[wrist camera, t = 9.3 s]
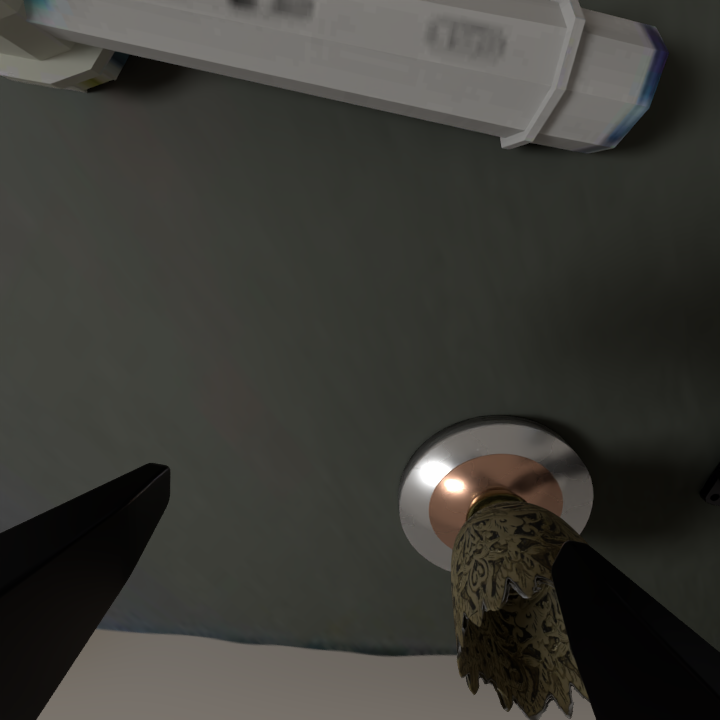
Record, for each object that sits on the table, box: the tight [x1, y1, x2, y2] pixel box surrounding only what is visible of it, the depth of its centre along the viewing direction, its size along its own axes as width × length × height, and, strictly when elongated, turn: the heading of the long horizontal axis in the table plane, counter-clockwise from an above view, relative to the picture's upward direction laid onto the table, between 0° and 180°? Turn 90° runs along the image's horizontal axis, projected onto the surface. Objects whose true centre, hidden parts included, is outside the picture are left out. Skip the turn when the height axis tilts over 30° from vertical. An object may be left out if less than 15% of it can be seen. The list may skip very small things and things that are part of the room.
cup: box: [451, 490, 590, 720], centre depth 18 cm, size 8×7×8 cm
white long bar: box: [0, 0, 669, 154], centre depth 13 cm, size 5×7×25 cm
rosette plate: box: [398, 415, 593, 571], centre depth 22 cm, size 11×11×1 cm
